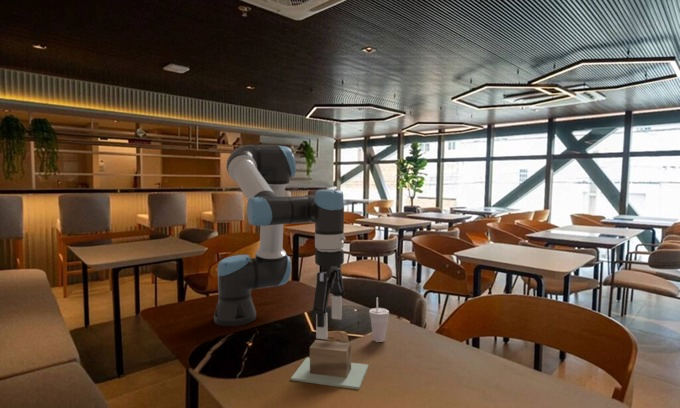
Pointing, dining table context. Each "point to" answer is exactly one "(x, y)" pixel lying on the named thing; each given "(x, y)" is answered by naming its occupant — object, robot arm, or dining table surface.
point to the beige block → (330, 358)
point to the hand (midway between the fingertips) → (329, 328)
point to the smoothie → (378, 322)
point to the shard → (337, 336)
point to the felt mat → (351, 381)
